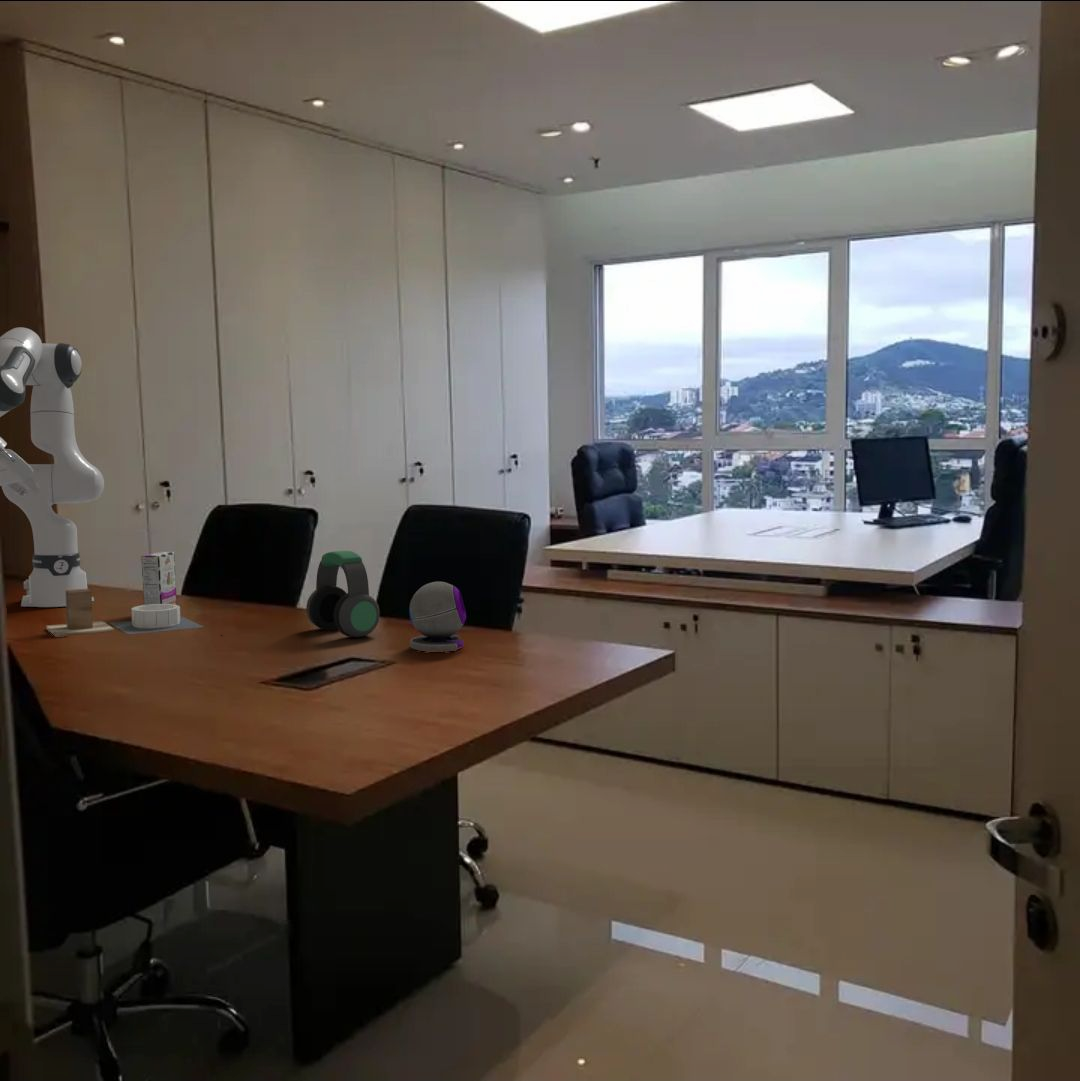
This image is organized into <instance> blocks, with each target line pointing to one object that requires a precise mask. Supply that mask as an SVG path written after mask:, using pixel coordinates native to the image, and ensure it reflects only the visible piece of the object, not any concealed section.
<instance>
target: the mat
mask: <svg viewBox="0 0 1080 1081" xmlns="http://www.w3.org/2000/svg"><path fill="white" fill-rule="evenodd" d="M109 625H110V626H111V625H112V626H113V627H115V628H117V629H118V630H120V631H122V632H123V633H124V634H126V635H137V634H147V633H148V634H149V633H159V632H160V633H161V632H166V631H167V632H168V631H179V630H189V629H200V628H204V626H203V625H200V624H198V623H196V622H195V621H192V620H190V619H188V618H186V617H184V616H180V624H179V625H178V626H175V627H170V628H161V629H139V628H134V627H133V623H132V620H130V621H129V620H128V621H117V622H109Z"/></svg>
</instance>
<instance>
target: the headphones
mask: <svg viewBox="0 0 1080 1081" xmlns="http://www.w3.org/2000/svg"><path fill="white" fill-rule="evenodd" d="M340 568H341V569H342V570H343V572H344V576H345V580H346V584H347V586H346V587H347V592H346V591H345V590H344V589H343V588H341V587H338V585H337V583H338V582H337V580H338V572H339V570H340ZM315 583H316V584H315V585H316V586H315V587H316V588H315V590H314V591H312V593H311V594H310V595H309V597H308V599H307V602H306V609H305V610H306V614H307V618H308V619H309V621H310V622H311V623H312V624H313V625H314V626H316V627H317V628H319V629H321V630H323V631H328V630H330V631H335V630H338V631H339V632H340V633H341V634H342V635H343V636H346V637H349V638H363V637H366V636H368V635H370V634H371V633H372V632H373V631H374V630H375V629H376V627H377V626H378V624H379V621H380V614H381V613H380V606H379V604H378V602H377V600H375V598H374V597H372V596H371V595H370V589H369V579H368V573H367V571H366V566H365V564H364V562H363V559H362V557H361V556H360V555H359V554H358V553H357V552H354V551H352V550H339V551H338V550H337V551H335V550H334V551H329V552H326V553H324V554H323V555H322V556H321V560H320V562H319V565H318V568H317V572H316V582H315Z"/></svg>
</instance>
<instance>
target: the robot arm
mask: <svg viewBox="0 0 1080 1081" xmlns="http://www.w3.org/2000/svg"><path fill="white" fill-rule="evenodd" d="M82 366H83V364H82V356H81V354H80V352H79V350H78V349H77V348H76V347H75V346H74V345H72V344H68V343H61V342H59V343H51V342H50V343H49V342H47V343H46V342H45V343H42V339H41V338H40V336H39V335H38V333H36V332H35V331H33V330H32V329H30V328H27V327H23V326H21V327H14V328H12V329H10V330H8V331H7V332H4V334H2V335H1V336H0V418H1V417H2V416H4V415H5V414H7V413H8V412H10V411H12V410H14V409H15V408H17V407H19V406H21V405H22V404H23V403H24V402H25V399H26V386H32V391H31V397H30V398H31V399H30V440H31V442H32V444H33V445H34V446H35V447H36V448H38V449H39V450H41V451H43V452H45V453H47V454H50V455H52V456H54V457H55V460H56V461H55V463H49V464H48V463H47V464H46V463H45V464H44V463H43V464H40V463H38V464H37V463H36V464H35V463H34V464H31V463H30V464H29V463H28V462H26V460H24V459H23V458H22V457H20V456H19V454H17V453H16V452H15V451H13V450H12V449H9V448H5V447H6V446H7V445H8V443H7V441H5V440H4V438H2V437H1V436H0V487H1V489H2V491H3V494H4V496H5V497H6V498H7V499H8V501H10V502H11V503H13V504H14V505H16V506H17V507H18V508H20V510H21V511H22V512H23V513H24V514H25V515H26V517H27V519H28V522H30V526H31V530H32V536H33V537H32V538H33V546H34V548H33V549H34V552H33V554H32V567H33V570H32V572H31V573H30V574H29V576H28V579H25V581H23V590H26V591H25V594H26V595H22V599H21V604H20V607H23V608H24V607H25V608H26V607H37V608H58V607H66V593H65V590H73V589H88V581H87V573H86V572H85V571H84V570H83V569H81V567H80V565H81V555H80V552H79V550H78V549H79V548H78V543H79V542H78V528H77V525H76V523H75V522H74V521H72V520H71V519H70V518H68V517H64V516H63V515H60V514H58V513H56V512H55V511H54V509H53V507H52V506H53V505H55V504H56V505H58V504H59V505H60V504H62V505H63V504H64V505H65V504H73V505H74V504H85V503H90V502H94V501H98V499H99V498H101V496H102V494H103V492H104V489H105V478H104V476H103V474H102V472H101V471H100V470H99V469H98V468H97V467H96V466H94V465H93V464H91V463H90V462H89V460H87V459H86V458H85V456H84V455H83V454H82V453H81V451H80V448H79V446H78V444H77V440H76V430H75V409H74V399H73V394H72V389H71V388H72V387H73V385H74V383H76V382H77V380H78V379H79V378H80V376H81V374H82V371H83V370H82V368H83V367H82ZM94 601H95V598H94V596H92V602H94Z"/></svg>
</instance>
